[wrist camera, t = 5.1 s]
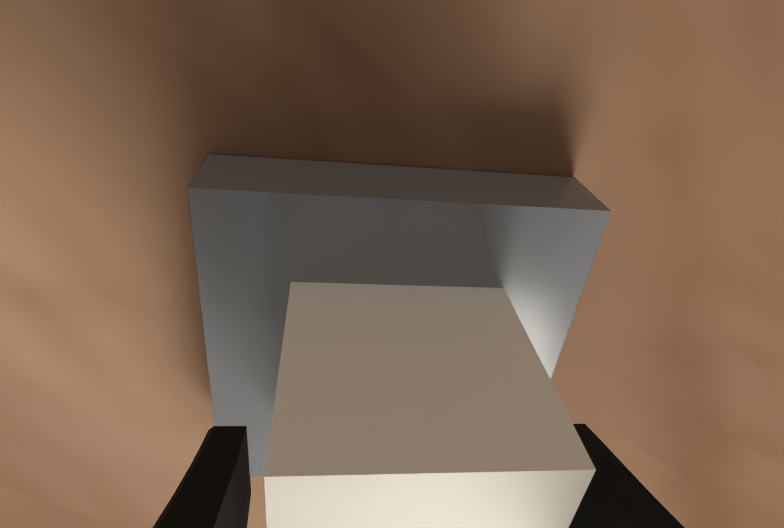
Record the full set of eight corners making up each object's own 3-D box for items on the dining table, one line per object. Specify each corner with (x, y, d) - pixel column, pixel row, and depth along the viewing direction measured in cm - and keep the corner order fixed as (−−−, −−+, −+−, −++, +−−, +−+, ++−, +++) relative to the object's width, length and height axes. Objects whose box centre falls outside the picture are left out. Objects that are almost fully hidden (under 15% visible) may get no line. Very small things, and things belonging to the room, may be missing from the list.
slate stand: (574, 177, 13) (610, 210, 11) (500, 420, 18) (518, 471, 16) (208, 153, 12) (187, 187, 10) (232, 422, 16) (220, 477, 15)
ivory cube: (503, 288, 12) (596, 470, 8) (467, 431, 15) (521, 626, 10) (290, 282, 11) (263, 476, 7) (291, 433, 14) (272, 642, 10)
